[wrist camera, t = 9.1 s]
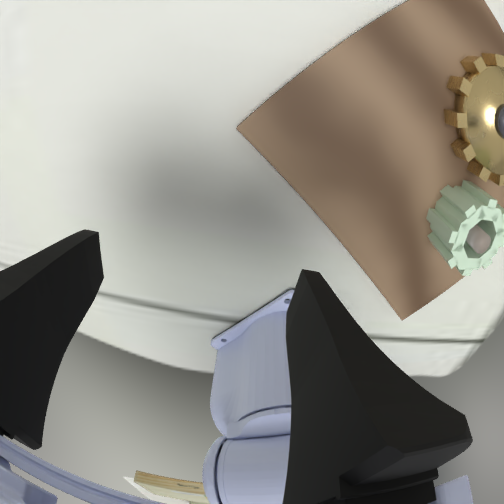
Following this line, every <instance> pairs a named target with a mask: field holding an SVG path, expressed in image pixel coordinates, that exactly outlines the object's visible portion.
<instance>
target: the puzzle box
mask: <svg viewBox="0 0 504 504" xmlns="http://www.w3.org/2000/svg"><path fill="white" fill-rule="evenodd" d="M134 482H135V483H137V484H138V485H140V486H142V487H143V488H145V489H146V490H148V491H150V492H151V493H153V494H155V495H160V496H164V497H170V498H175V499H180V500H186V501H193V502H200V503H208V504H210V503H209V501H208V499H207V497H206V495H205V491H204V487H203V483H202V482H194V481H187V480H180V479H175V478H169V477H164V476H159V475H155V474H150V473H146V472H141V471H136V473H135V478H134Z"/></svg>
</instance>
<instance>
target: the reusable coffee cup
mask: <svg viewBox="0 0 504 504" xmlns="http://www.w3.org/2000/svg"><path fill="white" fill-rule="evenodd" d="M189 504H208V503H200V502H193V501H190V503H189Z"/></svg>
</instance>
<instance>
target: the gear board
mask: <svg viewBox="0 0 504 504" xmlns="http://www.w3.org/2000/svg"><path fill="white" fill-rule="evenodd" d="M481 53H491V54H498V55H503V56H504V33H503V31H502V29H501V27H500V25H499V24H498V22H497V20H496V19H495V17H494V15H493V14H492V12H491V10H490V9H489V7H488V6H487V4H486V2H485V1H484V0H408V1H406V2H404V3H402V4H401V5H399V6H397V7H395V8H394V9H392V10H390V11H389V12H387V13H385V14H384V15H382V16H381V17H379V18H377V19H376V20H374V21H373V22H371V23H370V24H368V25H366V26H365V27H363V28H362V29H360V30H359V31H357V32H356V33H354V34H353V35H351V36H350V37H348V38H347V39H346V40H344V41H343V42H341V43H340V44H338V45H337V46H336V47H334V48H333V49H331V50H330V51H329V52H327V53H326V54H325V55H323V56H322V57H320V58H319V59H318V60H316V61H315V62H314V63H313V64H311V65H310V66H309V67H307V68H306V69H305V70H303V71H302V72H301V73H300V74H298V75H297V76H296V77H295V78H293V79H292V80H291V81H290V82H288V83H287V84H286V85H285V86H283V87H282V88H281V89H280V90H278V91H277V92H276V93H275V94H274V95H273V96H271V97H270V98H269V99H268V100H267V101H265V102H264V103H263V104H262V105H261V106H260V107H258V108H257V109H256V110H255V111H254V112H253V113H252V114H251V115H249V116H248V117H247V118H246V119H245V120H244V121H243V122H242V123H240V124H239V125H238V126H237V128H236V129H237V130H238V131H239V132H240V133H241V134H242V135H243V136H244V137H245V138H246V139H247V140H248V141H249V142H250V143H251V144H252V145H253V146H254V147H255V148H256V149H257V150H258V151H259V152H260V153H261V154H262V155H263V156H264V157H265V158H266V159H267V160H268V161H269V163H270V164H271V165H272V166H273V167H274V168H275V169H276V170H277V171H278V172H279V173H280V174H281V175H282V176H283V177H284V178H285V180H286V181H287V182H288V183H289V184H290V185H291V186H292V187H293V188H294V189H295V190H296V192H297V193H298V194H299V195H300V196H301V197H302V198H303V199H304V200H305V201H306V203H307V204H308V205H309V206H310V207H311V208H312V209H313V211H314V212H315V213H316V214H317V215H318V216H319V217H320V219H321V220H322V221H323V222H324V223H325V224H326V225H327V227H328V228H329V229H330V230H331V231H332V232H333V234H334V235H335V236H336V237H337V238H338V240H339V241H340V242H341V243H342V244H343V246H344V247H345V248H346V249H347V250H348V252H349V253H350V254H351V255H352V257H353V258H354V259H355V260H356V261H357V263H358V264H359V265H360V266H361V268H362V269H363V270H364V271H365V273H366V274H367V275H368V276H369V278H370V279H371V280H372V282H373V283H374V284H375V285H376V287H377V288H378V289H379V291H380V292H381V293H382V295H383V296H384V297H385V298H386V300H387V301H388V302H389V304H390V305H391V306H392V308H393V309H394V310H395V312H396V313H397V315H398V316H399V317H400V319H401V320H404V319H405V318H407V317H408V316H410V315H411V314H413V313H414V312H416V311H417V310H419V309H420V308H422V307H423V306H425V305H426V304H428V303H429V302H431V301H432V300H433V299H435V298H436V297H438V296H439V295H440V294H442V293H443V292H445V291H446V290H447V289H449V288H450V287H451V286H453V285H454V284H455V283H457V282H458V281H459V280H461V279H462V278H463V277H464V276H462V275H461V274H460V272H459V271H458V270H457V268H456V267H455V266H454V267H453V268H452V269H451V268H450V266H449V265H448V264H447V262H446V261H445V260H444V259H443V257H442V256H441V255H440V253H439V252H438V251H437V250H436V248H435V247H434V246H433V245H432V243H431V242H430V240H429V238H428V235H429V234H430V233H432V230H431V228H430V224H431V223H430V222H429V221H428V220H427V219H426V218H427V214H428V210H429V208H432V209H435V206H436V202H437V201H438V200H439V199H440V198H441V197H442V195H441V193H440V191H441V190H442V189H443V188H444V187H445V186H447V185H449V186H451V187H452V188H454V187H455V186H461V187H462V183H463V180H466V181H470V182H472V183H474V184H475V185H477V186H478V187H480V188H481V189H482V190H484V191H485V192H487V193H488V194H489V195H491V196H492V197H493V198H495V199H496V200H497V204H499V205H500V206H501V207H503V208H504V186H498V185H497V184H495V183H494V182H492V181H491V180H489V179H488V180H487V182H485V181H483V180H482V179H480V178H479V177H477V176H476V175H474V174H473V173H471V172H470V171H468V170H467V167H468V165H469V162H470V161H469V162H466V161H465V160H463V159H461V158H459V157H457V156H456V155H455V153H454V151H453V149H452V147H451V145H450V144H451V143H453V142H454V141H455V140H456V139H458V135H457V132H456V127H454V126H451V125H448V124H446V123H445V118H444V109H454V100H455V94H454V93H453V92H452V91H450V90H449V89H448V88H446V87H447V84H448V81H449V78H450V76H457V77H463V76H464V74H465V73H466V72H465V70H464V68H463V66H462V64H461V63H460V61H461V60H463V59H464V58H465V57H467V56H481V57H482V55H481ZM466 242H467V243H468V244H469V245H470V246H471V247H472V248H473V249H474V250H475V251H476V252H477V253H478V254H482V253H484V252H485V251H486V250H487V249H488V247H489V245H490V242H491V239H490V236H489V235H488V234H487V233H486V232H485V231H484V230H483V229H481V228H480V227H479V226H478V225H477V224H476V225H475V226H474V227H472V228H471V229H470V230H469V232H468V235H467V238H466Z"/></svg>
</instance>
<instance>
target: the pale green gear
mask: <svg viewBox="0 0 504 504" xmlns="http://www.w3.org/2000/svg"><path fill="white" fill-rule="evenodd" d="M440 193H441V195H442V197H441V198H440V199H439V200H438V201H437V202H436V206H435V209H432V208H429V210H428V214H427V218H426V219H427V220H428V221H429V222H430V223H431V224H430V228H431V230H432V233H430V234H429V235H428V238H429V240H430V242H431V243H432V245H433V246H434V247H435V248H436V250H437V251H438V252H439V253H440V255H441V256H442V257H443V259H444V260H445V261H446V262H447V264H448V265H449V266H450V268H451V269H452V268H453V267H454V266H455V267H456V268H457V270H458V271H459V272H460V274H461V275H462V276H470V274H471V272H472V270H478V269H479V268H480V267H483V268H484V269H486V268H487V267H488V266H489V265H490V264H491V263H492V260H491V258H492V257H493V256H494V255H496V254H497V251H498V249H499V247H504V208H503V207H501V206H500V205H499V204H497V200H496V199H495V198H493V197H492V196H491V195H489V194H488V193H487V192H485V191H484V190H482V189H481V188H480V187H478V186H477V185H475V184H474V183H472V182H470V181H466V180H463V183H462V187H461V186H455V187H454V188H452V187H451V186H449V185H447V186H445V187H444V188H443V189H442V190H441V191H440ZM476 224H477V225H478V226H479V227H480V228H481V229H483V230H484V231H485V232H486V233H487V234H488V235H489V236H490V239H491V242H490V245H489V247H488V249H487V250H486V251H485V252H484V253H482V254H478V253H477V252H476V251H475V250H474V249H473V248H472V247H471V246H470V245H469V244H468V243H467V242H466V238H467V235H468V232H469V230H470V229H471V228H472V227H474V226H475V225H476Z"/></svg>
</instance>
